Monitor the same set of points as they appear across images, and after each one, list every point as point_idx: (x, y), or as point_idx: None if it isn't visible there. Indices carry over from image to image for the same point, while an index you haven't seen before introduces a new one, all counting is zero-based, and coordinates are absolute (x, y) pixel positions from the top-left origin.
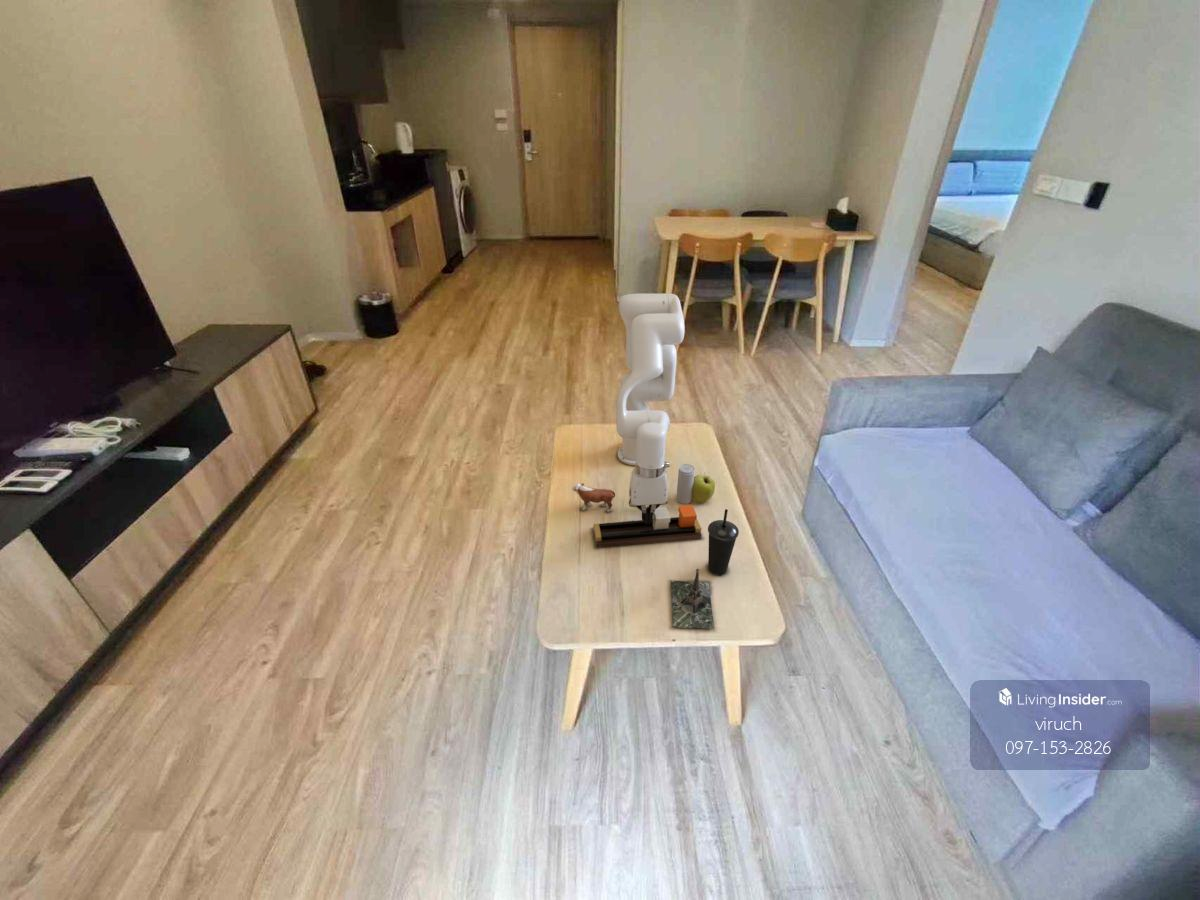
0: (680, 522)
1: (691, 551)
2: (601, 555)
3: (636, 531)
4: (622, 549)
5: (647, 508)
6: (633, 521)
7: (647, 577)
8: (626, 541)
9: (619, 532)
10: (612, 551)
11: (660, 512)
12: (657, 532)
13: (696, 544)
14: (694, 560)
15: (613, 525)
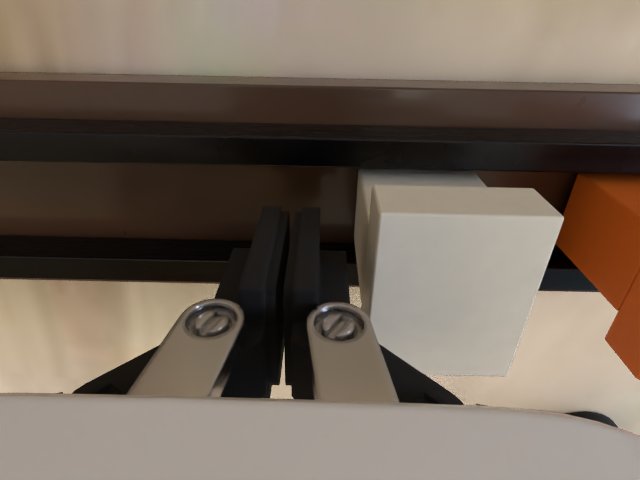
0: (589, 259)
1: (520, 345)
2: (20, 310)
3: (206, 263)
4: (137, 286)
5: (286, 316)
6: (186, 144)
7: None
8: (147, 281)
9: (88, 197)
10: (79, 292)
11: (443, 299)
12: None
13: (579, 306)
14: (501, 391)
15: (8, 158)
